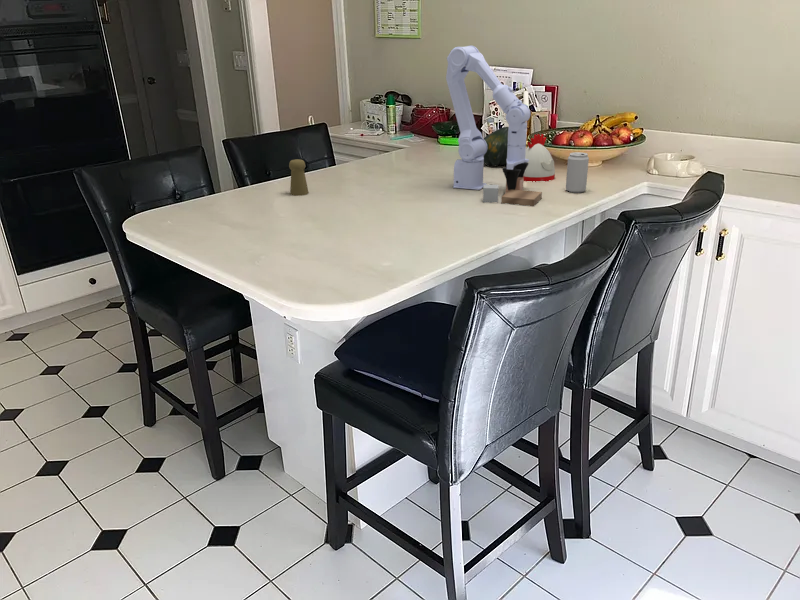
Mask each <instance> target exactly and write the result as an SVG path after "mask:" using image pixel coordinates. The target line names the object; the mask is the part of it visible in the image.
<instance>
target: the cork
mask: <svg viewBox="0 0 800 600" xmlns="http://www.w3.org/2000/svg"><path fill="white" fill-rule="evenodd" d="M288 168H289V169H290V170H291V171H290V188H289V190H290V191H289V195H290V196H293V197H294V196H295V197H297V196H299V197H300V196H306V195H308V194H309V193H310V192H309V187H308V182H307V179H306V174H305V168H306V162H305V161H304V160H303V159H298V158H297V159H291V160H290V161H289V164H288Z"/></svg>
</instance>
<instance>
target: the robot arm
mask: <svg viewBox="0 0 800 600" xmlns="http://www.w3.org/2000/svg"><path fill="white" fill-rule="evenodd" d="M446 60H447V68H446V75H445V76H446V77H445V78H446V79H445V80H446V83H447V88H448V92H449V94H450V99H451V103H452V105H453V107H452V108H453V109H454V114H455V117H456V121H457V125H458V128H459V129H458V130H459V132H460V133H459V136H458V140H457V141H458V156H459V157H460V159H456V160H455V161H454V165H453V186H452V188H453V189H463V190H464V189H466V190H475V191H479V190H483V187H484V185H488V184H487V183H485V182H484V166H485V163H484V154H485V153H486V152H487V143H486V141H485V140H484V137H483V135H482V131H480V130H479V129H478V127H477V125H476V120H475V117H474V112H473V109H472V106H471V101H470V97H469V94H468V91H467V86H466V81H465V79H466V77H467V75H468V74H469V72H474V73H476V74H477V75H478V76H479V77H480V79H481V80H482V81H483V82H484V83H485V84H486V85H487V87H489V89H490V90H491V91H492V99H493V100H494V101H495V102H496V104H497V105H498V106H499V108H500V109H501V110H502V112H503V113H504V114H505V121H506V122H507V124H508V127H509V128H508V147H507V159H506V162H507V165H506V167H505V166H504V167H502V172H503V174H504V177H505V183H506V182H507V187H508V190H510V189H513V190H515V188H516V184H517V179H518V177H522V178H523V176H524V173H525V170H526V168H527V166H528V163H527V162H529V159H526V158H525V154H526V148H527V132H528V121H529V119H530V118H531V110H530V108H529V105H527V104H525V103H523V101H522V100H521V99H519V98H518V96H517V95H516V94H515V92H514V88H513V87H512V86H509V85H508V84H502V82H501V81H500V80H499V78H498V76H497V75H496V74H495V72H494V71H493V69H492V68H491V66H490V65H489V64H488V62H487V60H486V59H485V57H484V55H483V53H481V52H480V50H479V49H478V48H477V47H476V46H474V45H471V44H470V45H466V46H456V47H454V48H452V49H451V51H450V53H449V54H448V55H447V57H446Z"/></svg>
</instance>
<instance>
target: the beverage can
mask: <svg viewBox="0 0 800 600" xmlns="http://www.w3.org/2000/svg"><path fill="white" fill-rule="evenodd" d="M589 160H590V158H589V154H588V153H586V152H581V151H580V152H579V151H576V152H570V153H569V156H567V168H566V179H565V190H566V191H567V192H568V191H569V192H568V193H572V192H573V193H572V194H576V193H577V194H579V193H584V192H585V191H586V190H587V184H588V183H587V182H588V173H589V171H588V170H589V163H590V161H589Z"/></svg>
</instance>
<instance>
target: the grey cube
mask: <svg viewBox="0 0 800 600" xmlns="http://www.w3.org/2000/svg"><path fill="white" fill-rule="evenodd" d="M492 202H499V184H487V185H484V187H483V188H482V203H492Z"/></svg>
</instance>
